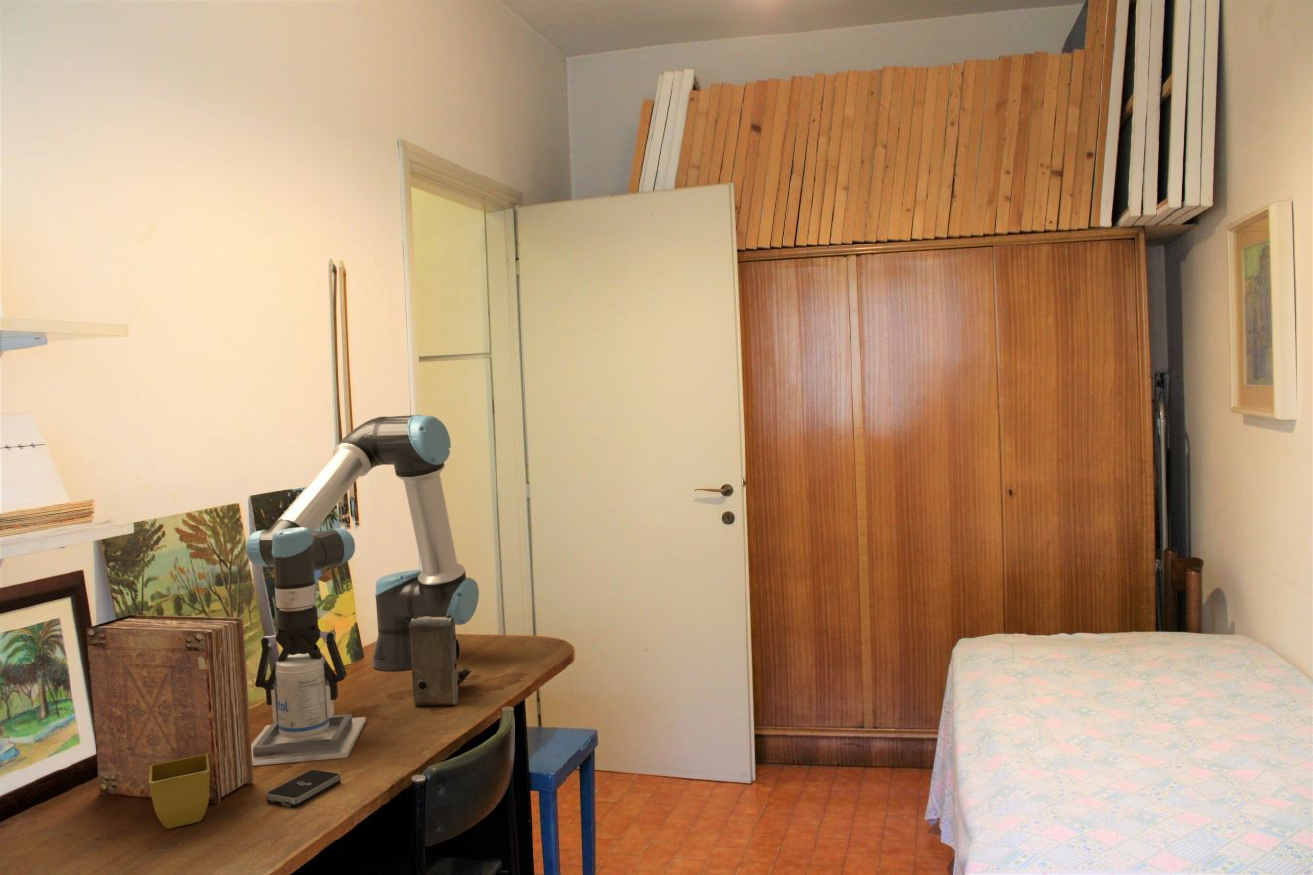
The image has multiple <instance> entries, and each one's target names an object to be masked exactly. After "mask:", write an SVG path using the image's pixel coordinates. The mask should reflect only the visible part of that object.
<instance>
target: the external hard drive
mask: <svg viewBox="0 0 1313 875" xmlns="http://www.w3.org/2000/svg"><path fill="white" fill-rule="evenodd" d="M340 783H341V773H339V772H334V771H328V770H320V769H315V768H313V769H312V768H311V769H309V770H307V771H305V772H303V773H301V774H299V775H298V776H296V777H293V778H292V779H290V780H288V781H286V782H284V783H282V784H280V785H279V786H276V787H275V788H272V789H270V790H269V791H266V802H267V803H268V804H272V805H276V806H278V805H279V806H283V807H289V808H294V809H296V808H299V807H301V806H302V805H305V804H306V803H308V802H310V801H311V800H313V799H316V798H317V797H319V796H320V795H322V794H324V793H326V792H327V791H329V790H331V789H333V788H335V787H336V786H338V785H340Z"/></svg>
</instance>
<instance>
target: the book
mask: <svg viewBox="0 0 1313 875" xmlns="http://www.w3.org/2000/svg"><path fill="white" fill-rule="evenodd" d="M85 632H86V642H87V654H88V665H89V666H88V667H89V679H90V690H91V692H90V693H91V702H92V706H91V707H92V716H93V728H94V741H95V742H94V743H95V751H96V752H95V753H96V766H97V774H98V775H97V778H98V779H97V780H98V789H99V794H101V795H110V796H120V797H121V796H123V797H129V798H130V797H131V798H141V799H148V800H149V799H150V800H152V796H151V791H150V786H149V773H150V765H153V764H157V763H162V762H167V761H173V760H178V759H183V758H188V757H192V756H197V755H202V754H208V758H209V767H210V783H209V801H208V805H212V806H218V805H220V803H221V799H222V798H224V797H225V796H227V795H230V793H232V792H233V791H235V790H237V789H239V788H240V787H242V786H244V785H251V784H253V783H254V781H255V780H254V766H253V764H252V748H251V744H252V738H251V737H252V736H251V722H250V708H249V689H248V677H247V660H246V659H247V658H246V647H245V631H244V619H243V618H242V617H229V616H228V617H225V616H223V617H222V616H193V615H192V616H189V615H188V616H186V615H184V616H183V615H145V614H143V615H141V614H130V615H129V614H128V615H126V616H122V617H118V618H116V619H112V620H109V621H106V622H105V621H104V622H103V623H102V622H101V623H99V624H95V625H92V626H88V627H87V628H86V629H85Z"/></svg>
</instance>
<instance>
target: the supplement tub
mask: <svg viewBox="0 0 1313 875" xmlns="http://www.w3.org/2000/svg"><path fill="white" fill-rule="evenodd" d="M322 655H323V656H322V658H321V659H313V658H311V657H310V655H309V654H308V653H307V654H295V655H290V654H289V656H288V657H287V659H286V660H285V661H283V662H277V661H278V659H277V660H276V662H275V665H276V669H275V670H276V672H275V674H276V682H275V686H276V693H277V711H278V727H279V733H280V734H281V735H282V736H283V737H286V738H306V737H311V736H314V735H317V734H320V733H322V732H324V731H325V730H326V729H327V728H328V727H329V718H327V705H326V689H325V686H326V684H327V683H328V681H327V679H326V678H325V675H324V665H323V663H325V662H326V661H327V659H326V655H325V654H323V653H322ZM325 659H326V660H325Z"/></svg>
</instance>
